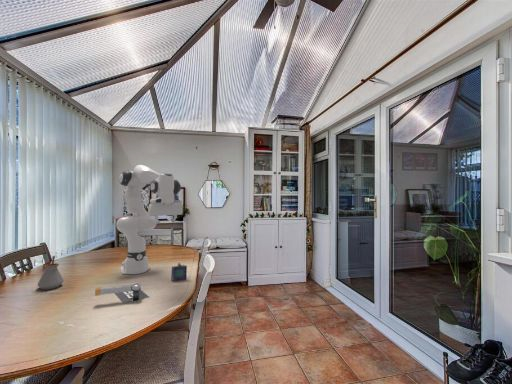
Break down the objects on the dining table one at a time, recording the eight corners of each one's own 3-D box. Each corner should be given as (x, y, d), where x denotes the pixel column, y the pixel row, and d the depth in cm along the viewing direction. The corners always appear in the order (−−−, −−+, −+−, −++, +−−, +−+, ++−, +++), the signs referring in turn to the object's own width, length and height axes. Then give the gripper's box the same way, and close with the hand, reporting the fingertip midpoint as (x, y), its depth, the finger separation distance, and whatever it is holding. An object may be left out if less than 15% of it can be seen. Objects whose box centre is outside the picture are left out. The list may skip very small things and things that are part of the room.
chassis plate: (114, 294, 129) (114, 293, 129) (137, 289, 137) (137, 287, 137) (124, 306, 116) (124, 304, 116) (149, 299, 124) (149, 297, 124)
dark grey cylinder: (132, 299, 122) (132, 290, 122) (137, 297, 124) (138, 288, 124) (133, 301, 120) (134, 291, 120) (139, 299, 122) (140, 290, 122)
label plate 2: (126, 295, 126) (126, 294, 126) (135, 293, 129) (135, 292, 129) (129, 298, 122) (129, 298, 122) (138, 296, 125) (138, 295, 125)
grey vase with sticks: (62, 288, 137) (63, 261, 138) (35, 292, 131) (36, 265, 131) (65, 277, 155) (65, 254, 155) (41, 281, 148) (42, 256, 148)
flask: (171, 281, 150) (171, 264, 150) (171, 280, 153) (171, 263, 153) (186, 280, 153) (186, 263, 153) (186, 278, 155) (186, 261, 156)
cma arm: (94, 296, 114) (94, 290, 114) (97, 292, 118) (97, 287, 118) (140, 291, 120) (140, 285, 120) (141, 288, 125) (141, 282, 125)
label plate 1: (122, 291, 131) (122, 291, 131) (131, 289, 134) (131, 288, 134) (125, 294, 127) (125, 294, 127) (134, 292, 130) (134, 291, 130)
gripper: (179, 199, 154) (179, 221, 154) (147, 199, 140) (146, 223, 140) (184, 199, 150) (184, 222, 150) (151, 200, 136) (150, 224, 135)
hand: (165, 222), depth 145 cm, fingers open, 8 cm apart
